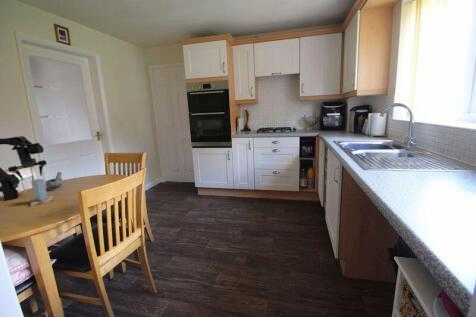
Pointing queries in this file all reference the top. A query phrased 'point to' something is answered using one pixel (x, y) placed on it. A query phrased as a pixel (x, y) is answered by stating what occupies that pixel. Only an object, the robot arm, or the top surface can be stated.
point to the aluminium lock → (39, 190)
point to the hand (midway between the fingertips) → (32, 178)
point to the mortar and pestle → (55, 182)
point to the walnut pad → (34, 202)
